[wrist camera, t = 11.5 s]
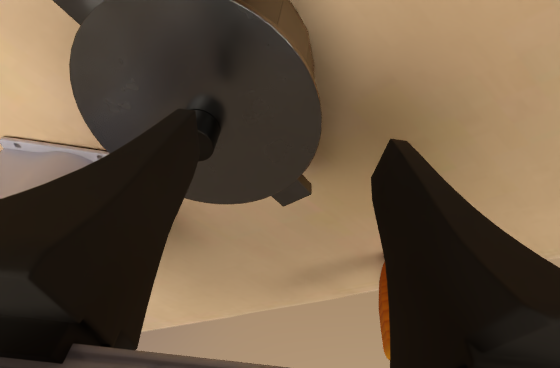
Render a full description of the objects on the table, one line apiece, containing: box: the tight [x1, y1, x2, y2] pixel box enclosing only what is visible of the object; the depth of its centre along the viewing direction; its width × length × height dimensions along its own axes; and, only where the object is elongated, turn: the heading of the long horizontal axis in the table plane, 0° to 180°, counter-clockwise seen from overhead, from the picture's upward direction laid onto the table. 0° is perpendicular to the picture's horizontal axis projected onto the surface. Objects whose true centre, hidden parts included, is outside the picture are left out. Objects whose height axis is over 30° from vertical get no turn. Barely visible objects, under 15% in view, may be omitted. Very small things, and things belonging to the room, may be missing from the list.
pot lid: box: [69, 0, 322, 204], centre depth 14 cm, size 12×12×3 cm
